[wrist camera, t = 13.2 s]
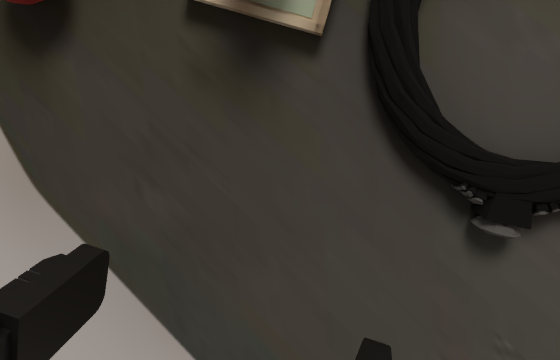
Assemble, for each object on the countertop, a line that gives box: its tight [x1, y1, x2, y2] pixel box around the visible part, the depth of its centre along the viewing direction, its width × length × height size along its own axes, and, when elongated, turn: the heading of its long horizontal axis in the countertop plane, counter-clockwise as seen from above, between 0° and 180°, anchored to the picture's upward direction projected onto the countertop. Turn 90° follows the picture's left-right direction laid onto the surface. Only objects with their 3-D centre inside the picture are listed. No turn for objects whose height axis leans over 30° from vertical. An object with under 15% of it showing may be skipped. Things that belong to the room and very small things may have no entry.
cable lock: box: [368, 0, 560, 238], centre depth 32 cm, size 28×4×30 cm
